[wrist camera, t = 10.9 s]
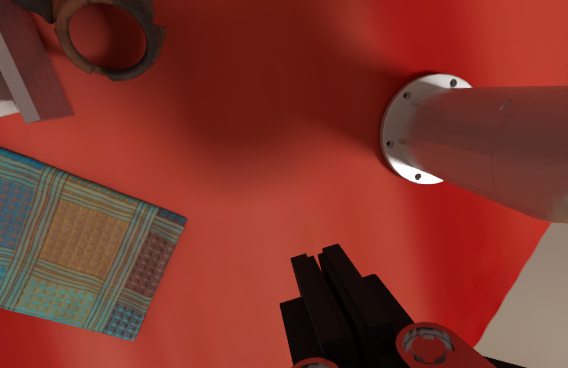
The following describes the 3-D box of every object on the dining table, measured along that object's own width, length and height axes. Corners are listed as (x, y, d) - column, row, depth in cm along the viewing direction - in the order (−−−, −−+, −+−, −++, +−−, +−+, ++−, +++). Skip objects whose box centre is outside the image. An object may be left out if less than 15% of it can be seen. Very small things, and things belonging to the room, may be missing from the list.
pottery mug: (169, -31, 32) (173, -3, 26) (158, 62, 37) (159, 101, 32) (11, -83, 27) (-26, -63, 21) (25, 34, 32) (0, 75, 27)
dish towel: (-41, 127, 33) (-63, 130, 30) (189, 213, 38) (187, 222, 36) (-83, 275, 36) (-106, 288, 33) (137, 334, 41) (131, 350, 39)
